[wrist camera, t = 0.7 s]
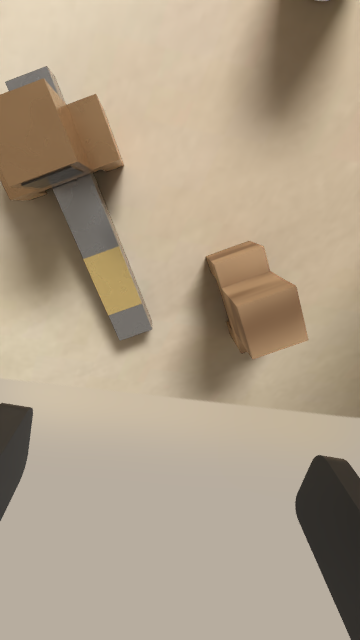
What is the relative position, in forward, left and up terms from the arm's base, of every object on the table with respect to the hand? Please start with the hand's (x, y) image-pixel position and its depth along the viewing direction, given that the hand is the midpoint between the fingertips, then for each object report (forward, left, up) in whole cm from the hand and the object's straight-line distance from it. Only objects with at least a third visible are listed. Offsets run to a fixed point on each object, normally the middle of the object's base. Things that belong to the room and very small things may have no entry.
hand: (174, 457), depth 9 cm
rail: (+3, -7, -22) cm, 23 cm away
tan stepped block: (-7, +3, -22) cm, 23 cm away
